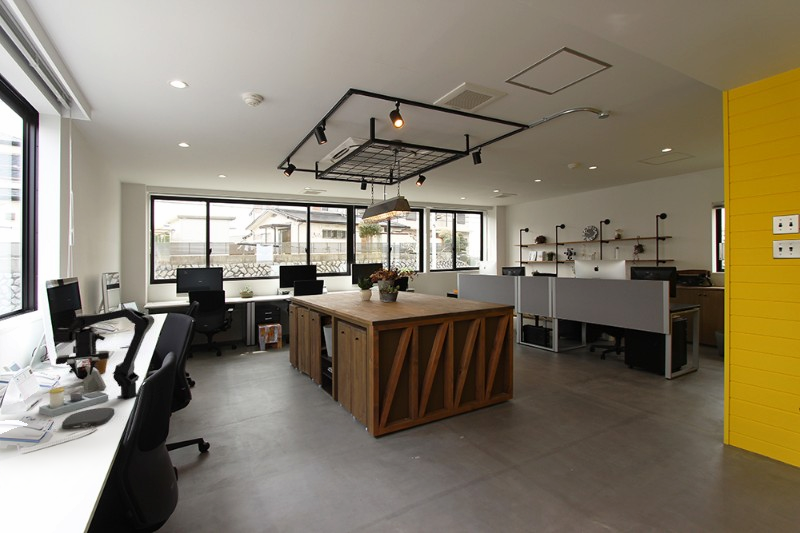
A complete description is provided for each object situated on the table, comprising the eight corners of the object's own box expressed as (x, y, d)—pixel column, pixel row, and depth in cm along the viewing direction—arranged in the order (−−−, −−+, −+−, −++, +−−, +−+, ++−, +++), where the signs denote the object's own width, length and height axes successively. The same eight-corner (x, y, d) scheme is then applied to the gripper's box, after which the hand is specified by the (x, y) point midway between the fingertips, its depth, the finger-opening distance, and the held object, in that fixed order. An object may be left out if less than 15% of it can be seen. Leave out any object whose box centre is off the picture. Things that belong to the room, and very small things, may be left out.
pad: (106, 394, 177) (106, 393, 177) (91, 398, 171) (91, 397, 171) (98, 391, 180) (98, 391, 180) (82, 396, 174) (82, 395, 174)
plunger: (84, 399, 170) (84, 392, 170) (73, 402, 166) (73, 395, 166) (79, 398, 172) (79, 391, 172) (68, 401, 168) (68, 394, 168)
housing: (108, 400, 176) (108, 394, 176) (51, 417, 157) (51, 410, 157) (96, 396, 180) (96, 391, 180) (39, 412, 161) (39, 406, 161)
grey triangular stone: (106, 390, 189) (106, 369, 189) (82, 394, 184) (82, 372, 184) (105, 382, 202) (105, 362, 202) (83, 385, 196) (83, 364, 196)
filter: (70, 385, 196) (70, 327, 195) (75, 380, 204) (75, 324, 203) (103, 382, 202) (103, 325, 201) (107, 377, 210) (107, 322, 209)
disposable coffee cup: (90, 371, 219) (90, 351, 219) (110, 370, 223) (110, 349, 223) (85, 376, 211) (85, 355, 210) (106, 374, 215) (106, 353, 214)
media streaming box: (117, 412, 163) (117, 405, 163) (104, 426, 150) (104, 418, 150) (74, 417, 158) (74, 410, 158) (58, 432, 144) (58, 424, 144)
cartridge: (66, 410, 164) (66, 388, 164) (53, 414, 160) (52, 391, 160) (60, 408, 166) (60, 386, 166) (47, 412, 162) (47, 390, 162)
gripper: (109, 337, 188) (110, 368, 189) (59, 341, 178) (59, 374, 178) (108, 341, 179) (108, 374, 179) (55, 346, 168) (55, 381, 169)
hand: (83, 375), depth 177 cm, fingers open, 4 cm apart
